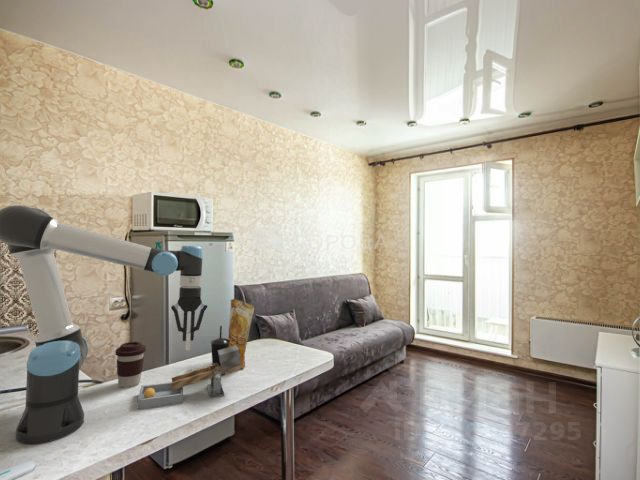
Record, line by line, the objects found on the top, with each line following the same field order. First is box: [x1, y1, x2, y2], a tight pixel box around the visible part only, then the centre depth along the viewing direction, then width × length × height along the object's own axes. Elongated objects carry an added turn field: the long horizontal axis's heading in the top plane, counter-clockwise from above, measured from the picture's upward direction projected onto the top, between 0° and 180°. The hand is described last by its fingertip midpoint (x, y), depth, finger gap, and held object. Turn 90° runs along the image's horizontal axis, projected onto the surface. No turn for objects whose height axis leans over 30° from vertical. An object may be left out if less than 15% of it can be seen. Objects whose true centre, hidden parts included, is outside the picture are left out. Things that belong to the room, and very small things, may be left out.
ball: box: [144, 388, 155, 398], centre depth 113 cm, size 3×3×3 cm
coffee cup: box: [115, 341, 147, 388], centre depth 125 cm, size 10×10×15 cm
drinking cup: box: [210, 325, 230, 377], centre depth 137 cm, size 8×8×20 cm
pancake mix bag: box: [227, 298, 256, 370], centre depth 150 cm, size 7×19×28 cm, turn 40°
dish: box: [136, 381, 184, 410], centre depth 115 cm, size 14×12×3 cm
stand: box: [206, 362, 225, 399], centre depth 122 cm, size 5×10×9 cm, turn 24°
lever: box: [171, 345, 242, 390], centre depth 123 cm, size 24×11×7 cm, turn 113°
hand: (187, 349), depth 124 cm, fingers closed
